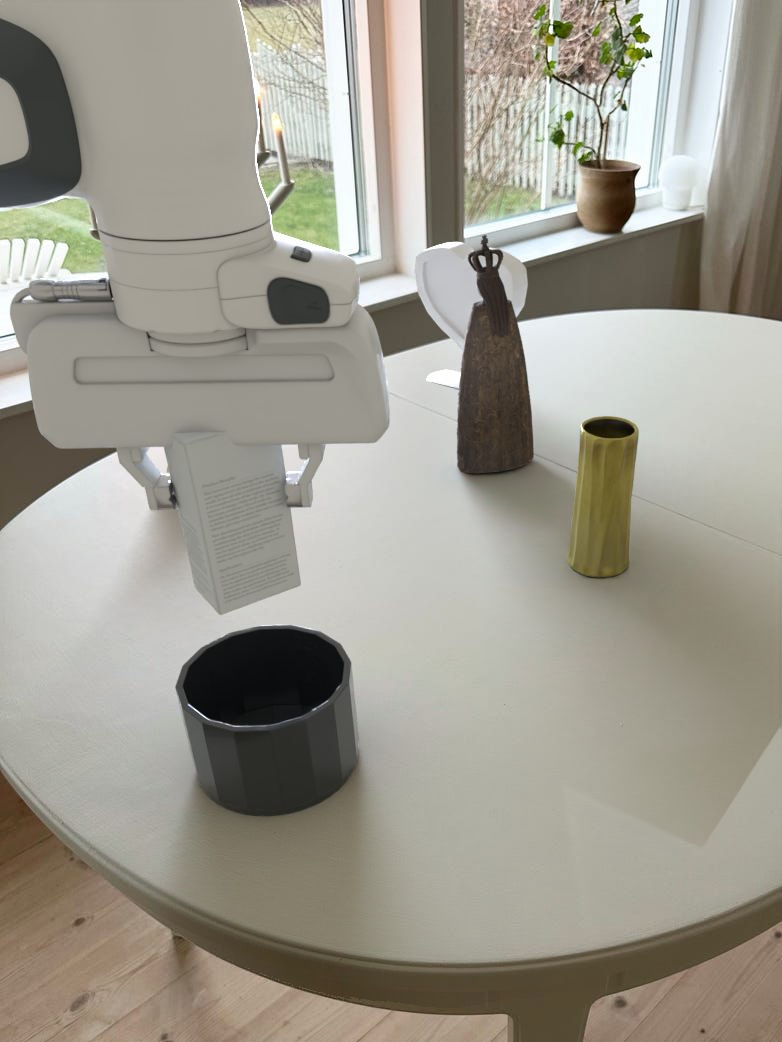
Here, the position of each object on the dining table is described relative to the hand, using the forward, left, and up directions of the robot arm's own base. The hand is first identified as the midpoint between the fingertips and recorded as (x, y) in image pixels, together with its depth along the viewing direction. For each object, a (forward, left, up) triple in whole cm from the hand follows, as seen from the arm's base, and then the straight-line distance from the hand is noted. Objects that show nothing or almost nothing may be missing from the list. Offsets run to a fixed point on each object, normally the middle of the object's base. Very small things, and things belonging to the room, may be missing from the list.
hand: (233, 505), depth 60 cm
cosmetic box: (0, 0, -6) cm, 6 cm away
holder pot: (0, -1, -21) cm, 21 cm away
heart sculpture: (+17, +74, -21) cm, 79 cm away
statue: (+19, +49, -21) cm, 57 cm away
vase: (+28, +26, -21) cm, 44 cm away
